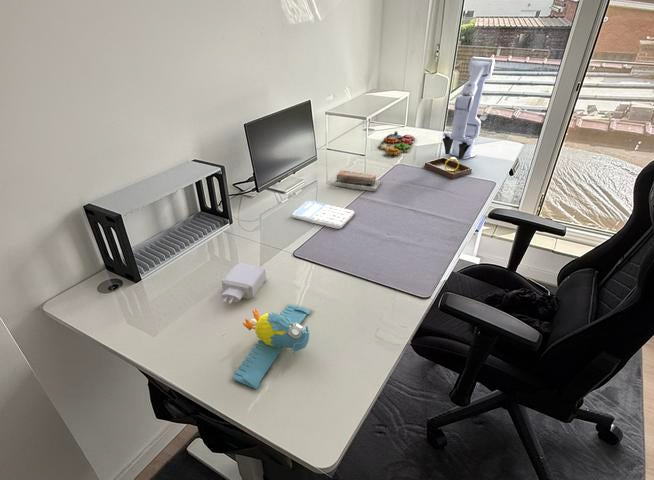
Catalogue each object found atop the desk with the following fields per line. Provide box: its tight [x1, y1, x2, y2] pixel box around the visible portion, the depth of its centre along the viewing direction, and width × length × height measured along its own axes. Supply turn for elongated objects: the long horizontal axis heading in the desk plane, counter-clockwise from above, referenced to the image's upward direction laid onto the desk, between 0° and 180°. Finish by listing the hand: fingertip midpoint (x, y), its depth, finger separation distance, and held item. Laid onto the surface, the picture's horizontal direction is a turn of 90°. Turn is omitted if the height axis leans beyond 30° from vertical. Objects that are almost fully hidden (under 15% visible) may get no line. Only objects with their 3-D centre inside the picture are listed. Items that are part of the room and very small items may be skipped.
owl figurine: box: [232, 304, 311, 390], centre depth 99 cm, size 28×9×15 cm
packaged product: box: [334, 170, 381, 193], centre depth 178 cm, size 18×5×10 cm
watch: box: [445, 156, 460, 172], centre depth 190 cm, size 6×3×6 cm, turn 75°
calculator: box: [291, 200, 355, 230], centre depth 155 cm, size 13×20×2 cm, turn 62°
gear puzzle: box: [378, 130, 416, 156], centre depth 217 cm, size 31×16×4 cm, turn 160°
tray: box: [424, 156, 473, 180], centre depth 192 cm, size 17×12×2 cm
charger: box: [220, 262, 267, 304], centre depth 117 cm, size 5×9×15 cm
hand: (453, 156), depth 187 cm, fingers open, 7 cm apart
